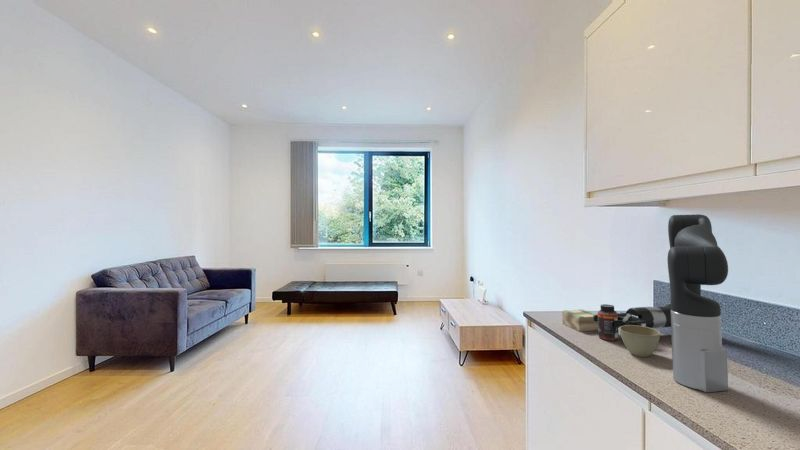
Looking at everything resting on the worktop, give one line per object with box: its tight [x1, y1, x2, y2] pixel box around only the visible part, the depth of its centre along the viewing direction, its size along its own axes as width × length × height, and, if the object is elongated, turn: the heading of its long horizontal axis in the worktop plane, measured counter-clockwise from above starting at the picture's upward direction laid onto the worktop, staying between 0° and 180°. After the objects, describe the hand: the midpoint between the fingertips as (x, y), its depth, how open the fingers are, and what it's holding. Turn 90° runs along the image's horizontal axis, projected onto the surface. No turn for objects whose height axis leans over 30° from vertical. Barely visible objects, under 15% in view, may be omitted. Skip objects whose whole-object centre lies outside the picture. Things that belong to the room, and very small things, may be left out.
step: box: [561, 309, 598, 332], centre depth 129 cm, size 10×9×5 cm
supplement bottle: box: [597, 303, 620, 342], centre depth 115 cm, size 6×6×11 cm
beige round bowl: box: [618, 325, 661, 358], centre depth 101 cm, size 10×10×7 cm
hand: (602, 321), depth 115 cm, fingers open, 7 cm apart
